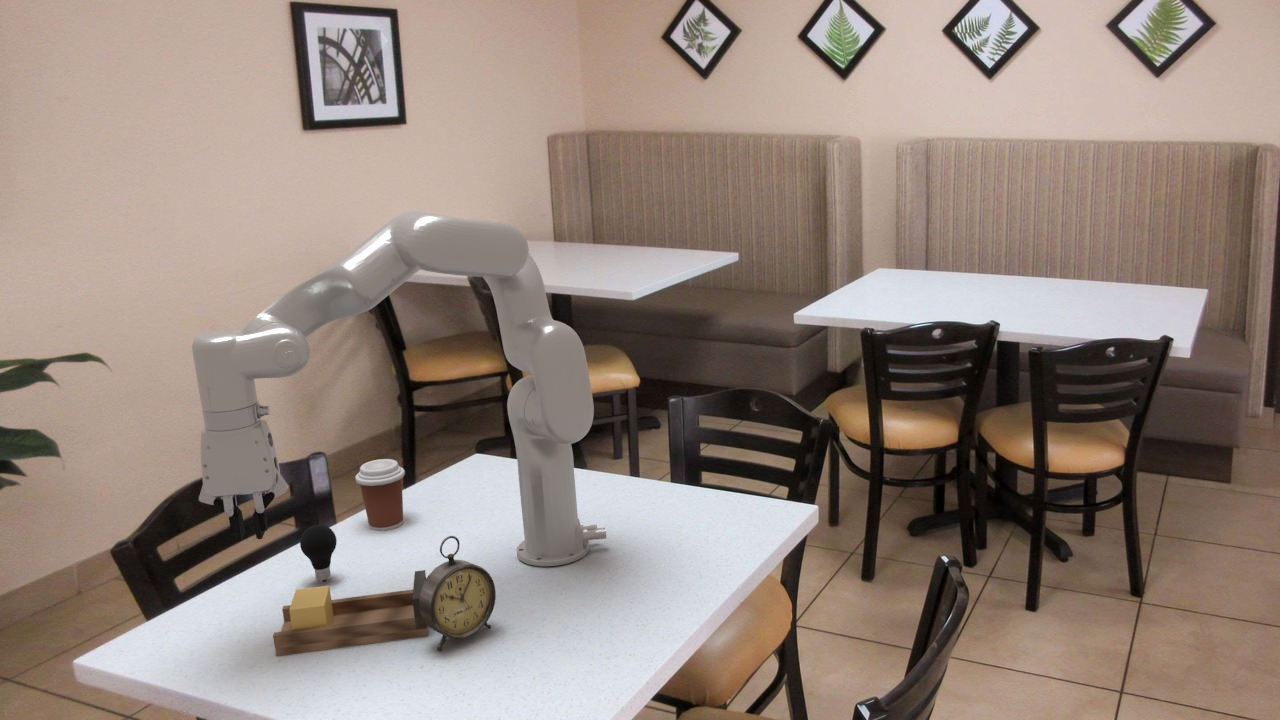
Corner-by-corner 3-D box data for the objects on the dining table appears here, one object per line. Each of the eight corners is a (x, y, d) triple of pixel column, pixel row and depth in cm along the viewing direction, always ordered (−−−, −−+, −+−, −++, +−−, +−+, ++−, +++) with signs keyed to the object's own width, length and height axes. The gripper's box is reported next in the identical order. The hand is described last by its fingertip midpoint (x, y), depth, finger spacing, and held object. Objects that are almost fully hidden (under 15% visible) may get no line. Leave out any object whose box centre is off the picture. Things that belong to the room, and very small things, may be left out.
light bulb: (331, 589, 181) (323, 533, 179) (299, 588, 183) (291, 532, 180) (347, 574, 187) (340, 519, 185) (316, 573, 188) (308, 518, 186)
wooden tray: (429, 606, 173) (425, 570, 172) (427, 635, 163) (423, 597, 162) (286, 624, 170) (280, 588, 168) (276, 656, 160) (270, 617, 159)
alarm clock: (438, 658, 157) (425, 553, 153) (419, 645, 161) (406, 543, 157) (501, 630, 164) (491, 529, 160) (481, 619, 168) (470, 520, 164)
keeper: (333, 615, 169) (329, 585, 168) (328, 636, 162) (324, 605, 161) (300, 619, 168) (295, 589, 167) (293, 640, 162) (289, 610, 161)
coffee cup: (420, 519, 210) (413, 460, 207) (386, 537, 202) (378, 475, 199) (386, 512, 214) (379, 454, 211) (351, 529, 207) (343, 469, 204)
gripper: (293, 404, 161) (310, 521, 165) (179, 416, 159) (200, 534, 163) (285, 418, 154) (303, 540, 158) (166, 431, 152) (188, 553, 156)
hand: (250, 536), depth 161 cm, fingers closed
